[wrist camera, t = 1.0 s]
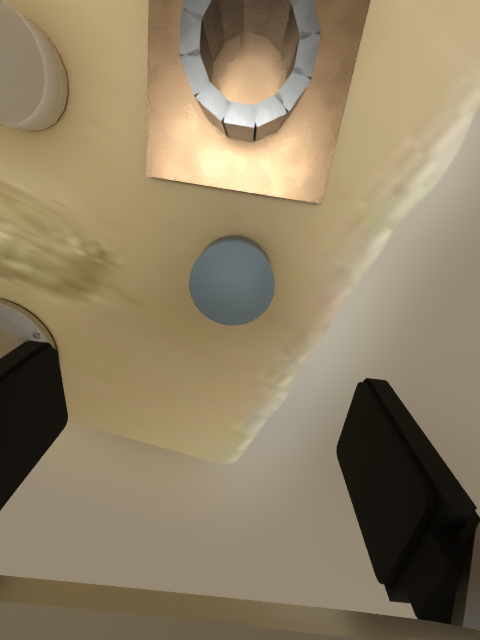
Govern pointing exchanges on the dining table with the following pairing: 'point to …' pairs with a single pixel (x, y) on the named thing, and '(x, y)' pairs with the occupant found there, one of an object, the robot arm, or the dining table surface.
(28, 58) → the bottle
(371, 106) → the dining table surface
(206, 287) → the cap
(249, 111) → the copper square plate
